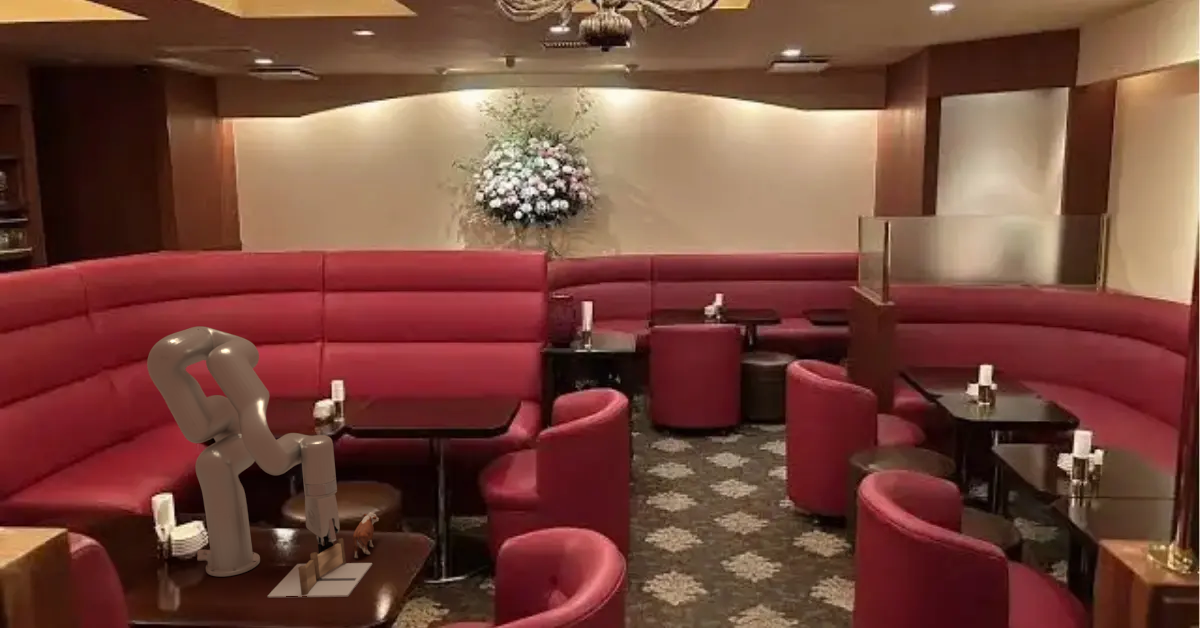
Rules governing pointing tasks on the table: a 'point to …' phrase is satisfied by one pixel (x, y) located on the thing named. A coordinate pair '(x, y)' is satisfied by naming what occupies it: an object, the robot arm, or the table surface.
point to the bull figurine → (364, 533)
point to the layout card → (324, 582)
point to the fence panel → (329, 558)
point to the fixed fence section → (307, 577)
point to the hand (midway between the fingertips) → (326, 558)
